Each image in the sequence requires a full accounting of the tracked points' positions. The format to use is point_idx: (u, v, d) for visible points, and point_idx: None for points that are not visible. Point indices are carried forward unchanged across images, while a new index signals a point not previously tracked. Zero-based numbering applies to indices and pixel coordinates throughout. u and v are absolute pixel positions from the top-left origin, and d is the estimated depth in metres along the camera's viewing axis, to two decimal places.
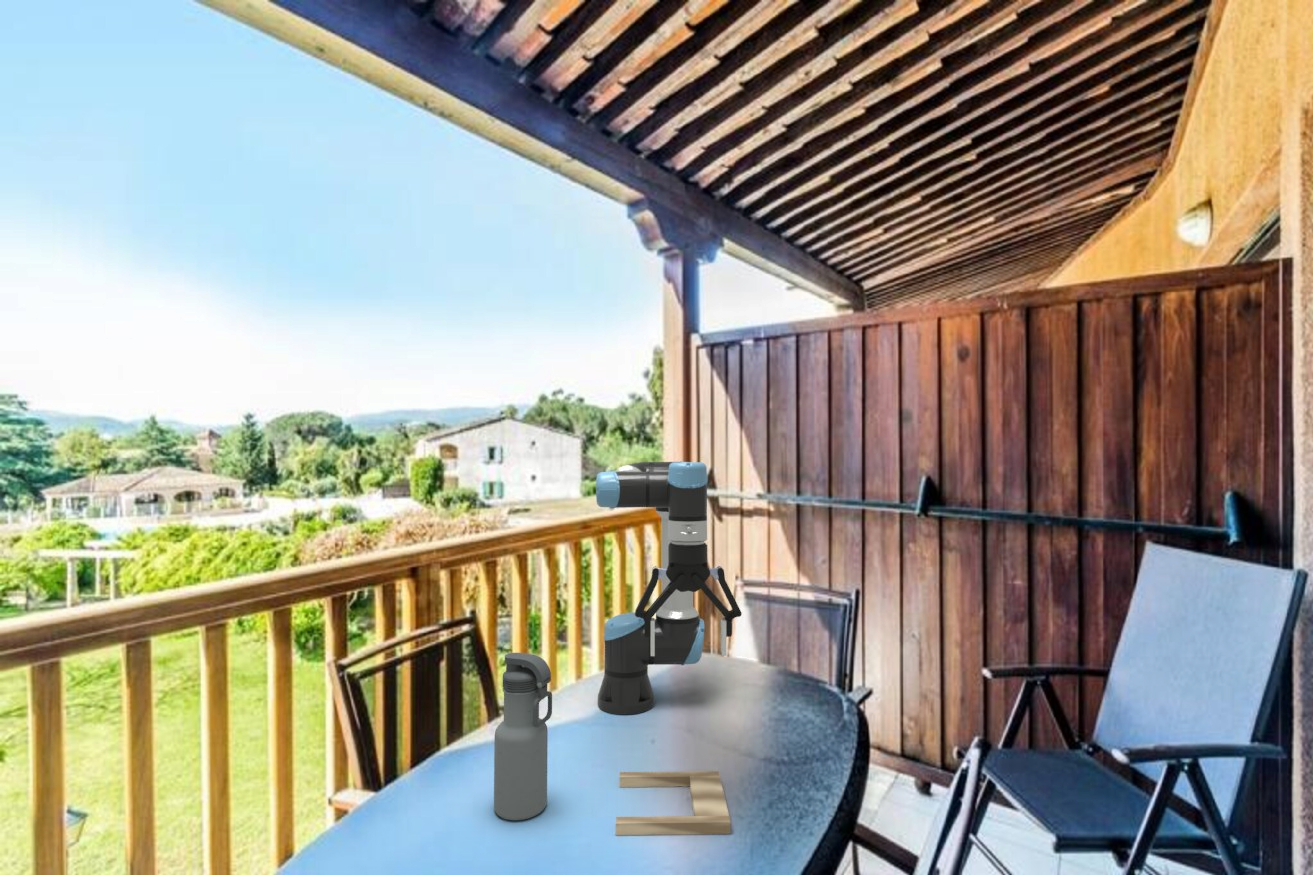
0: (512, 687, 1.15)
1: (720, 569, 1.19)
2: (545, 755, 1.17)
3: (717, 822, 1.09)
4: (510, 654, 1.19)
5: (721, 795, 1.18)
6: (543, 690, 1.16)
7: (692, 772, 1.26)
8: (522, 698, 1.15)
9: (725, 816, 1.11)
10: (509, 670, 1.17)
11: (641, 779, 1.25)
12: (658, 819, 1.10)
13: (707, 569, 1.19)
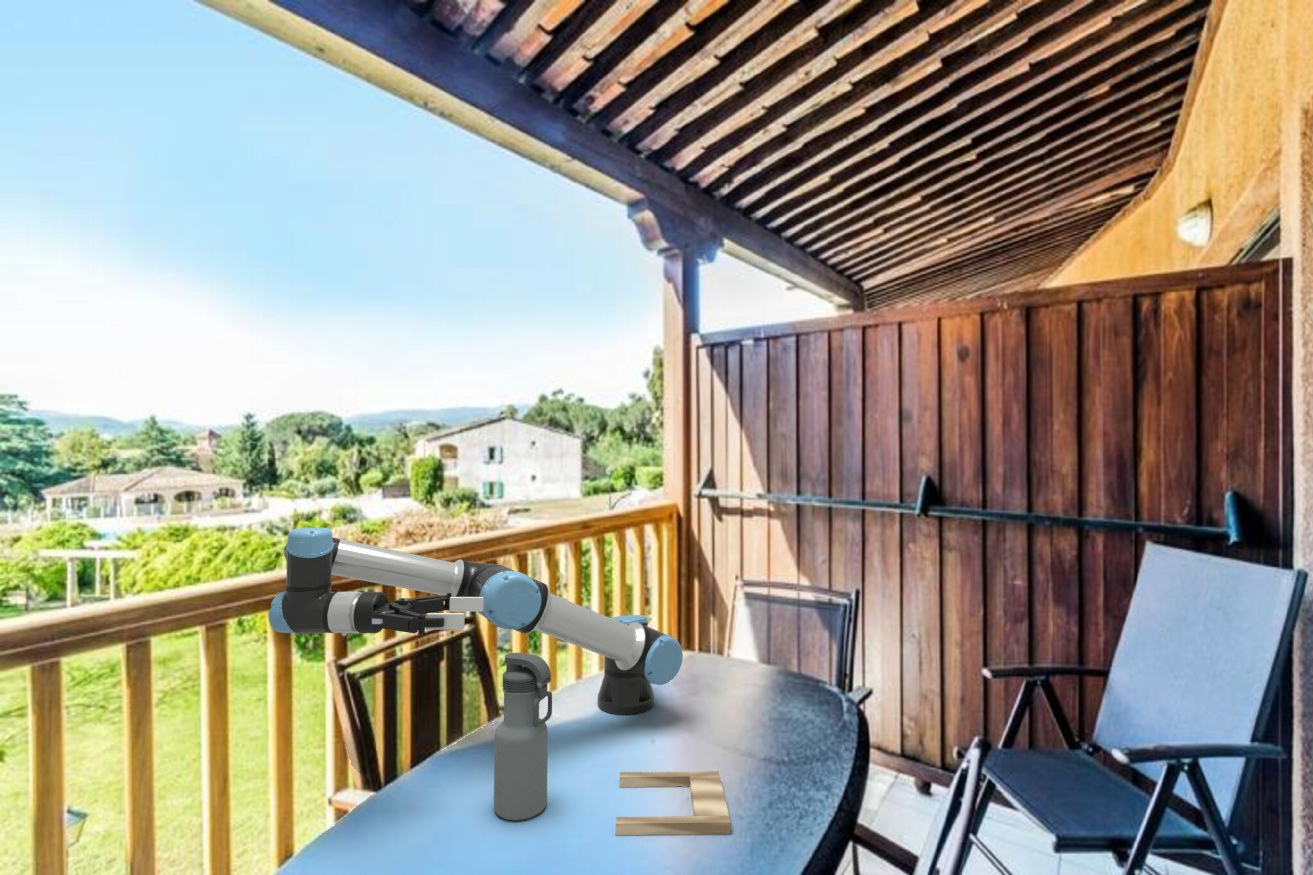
0: (512, 687, 1.15)
1: None
2: (546, 755, 1.17)
3: (717, 822, 1.09)
4: (510, 654, 1.19)
5: (721, 795, 1.18)
6: (543, 690, 1.16)
7: (692, 772, 1.26)
8: (522, 698, 1.15)
9: (725, 816, 1.11)
10: (509, 670, 1.17)
11: (641, 779, 1.25)
12: (658, 819, 1.10)
13: None
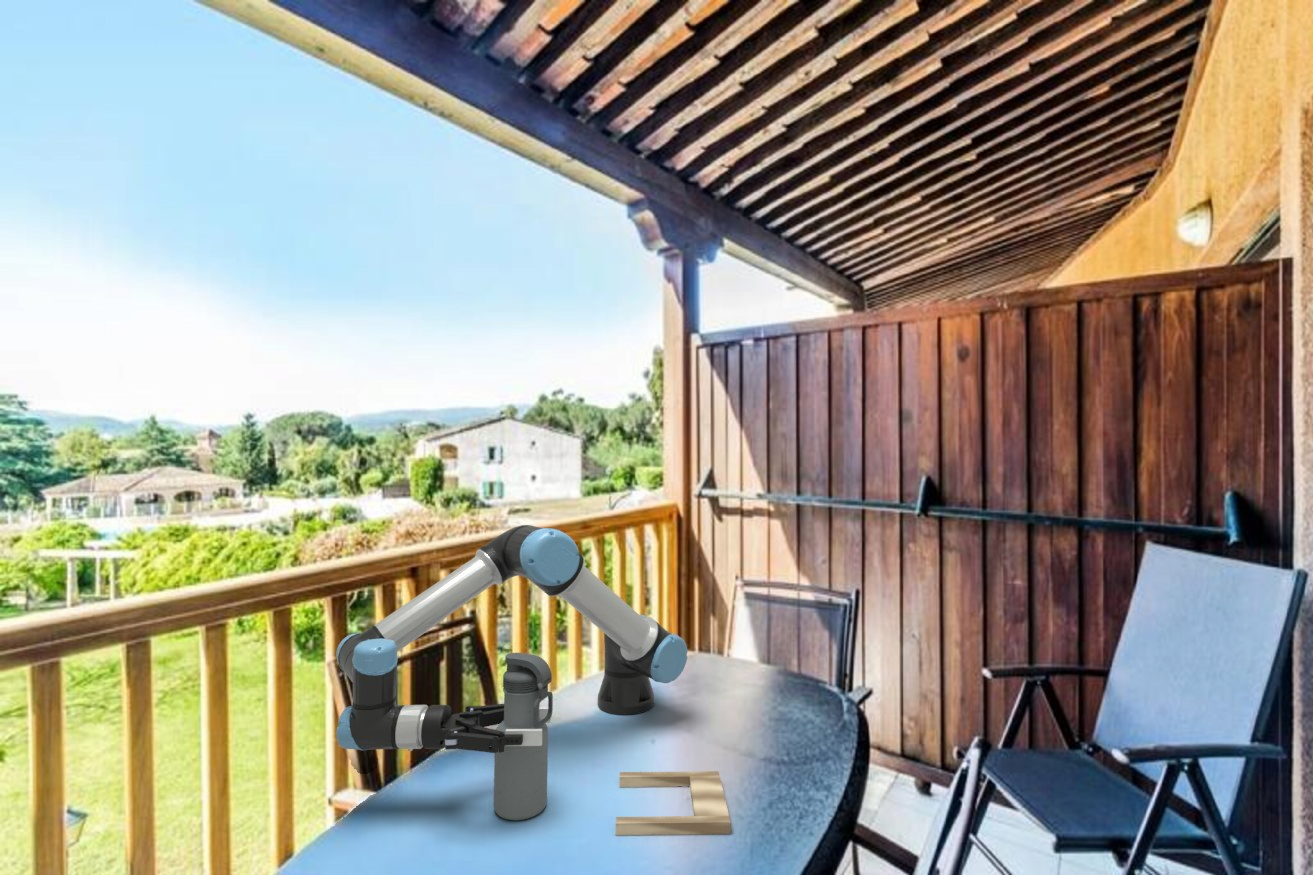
0: (512, 687, 1.14)
1: None
2: (546, 755, 1.17)
3: (717, 822, 1.09)
4: (511, 654, 1.19)
5: (721, 795, 1.18)
6: (544, 691, 1.16)
7: (692, 772, 1.26)
8: (522, 698, 1.15)
9: (725, 816, 1.11)
10: (510, 670, 1.17)
11: (641, 779, 1.25)
12: (658, 819, 1.10)
13: None
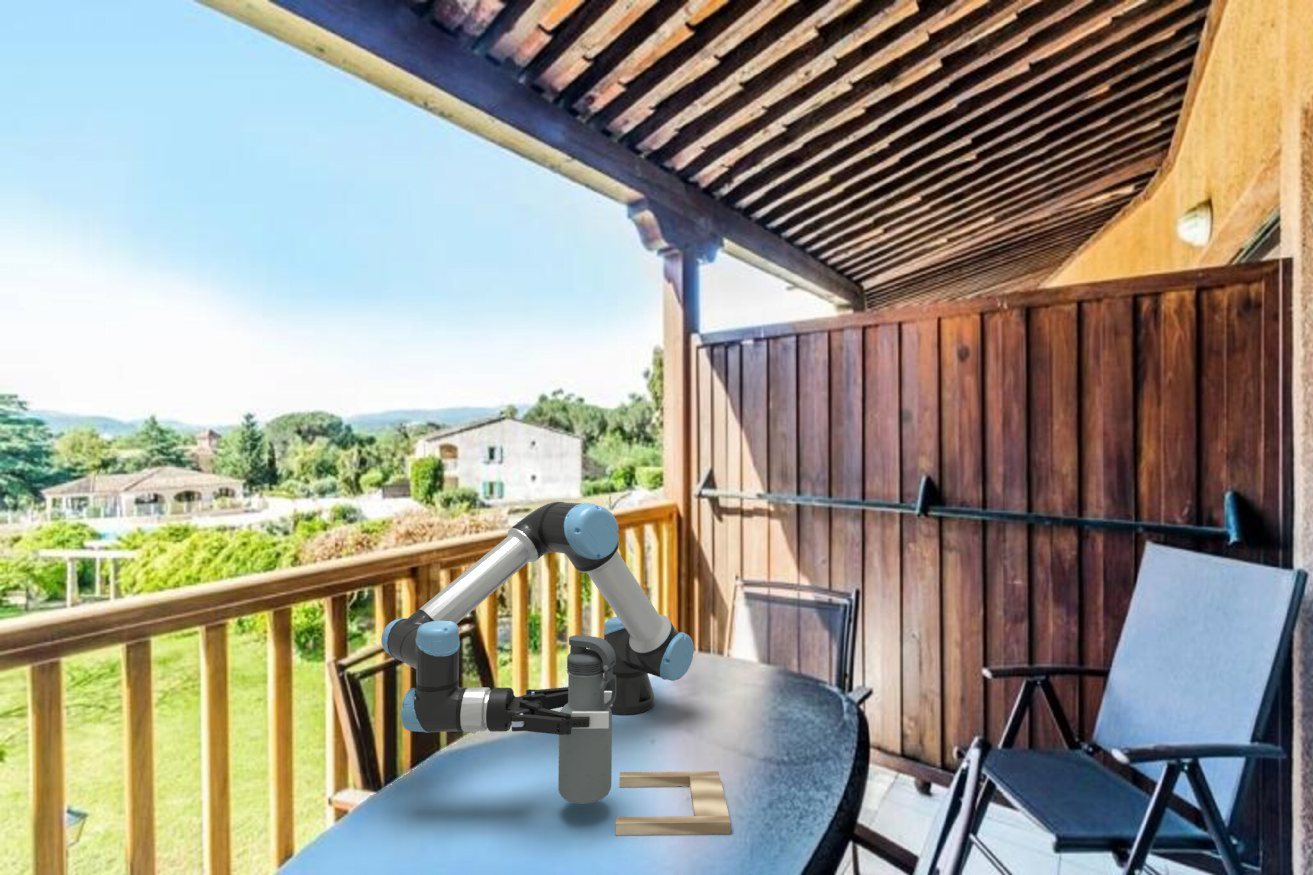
0: (578, 669, 1.13)
1: None
2: (610, 738, 1.15)
3: (717, 822, 1.09)
4: (574, 636, 1.18)
5: (721, 795, 1.18)
6: (609, 673, 1.14)
7: (692, 772, 1.26)
8: (588, 681, 1.13)
9: (725, 816, 1.11)
10: (574, 652, 1.16)
11: (641, 779, 1.25)
12: (658, 819, 1.10)
13: None
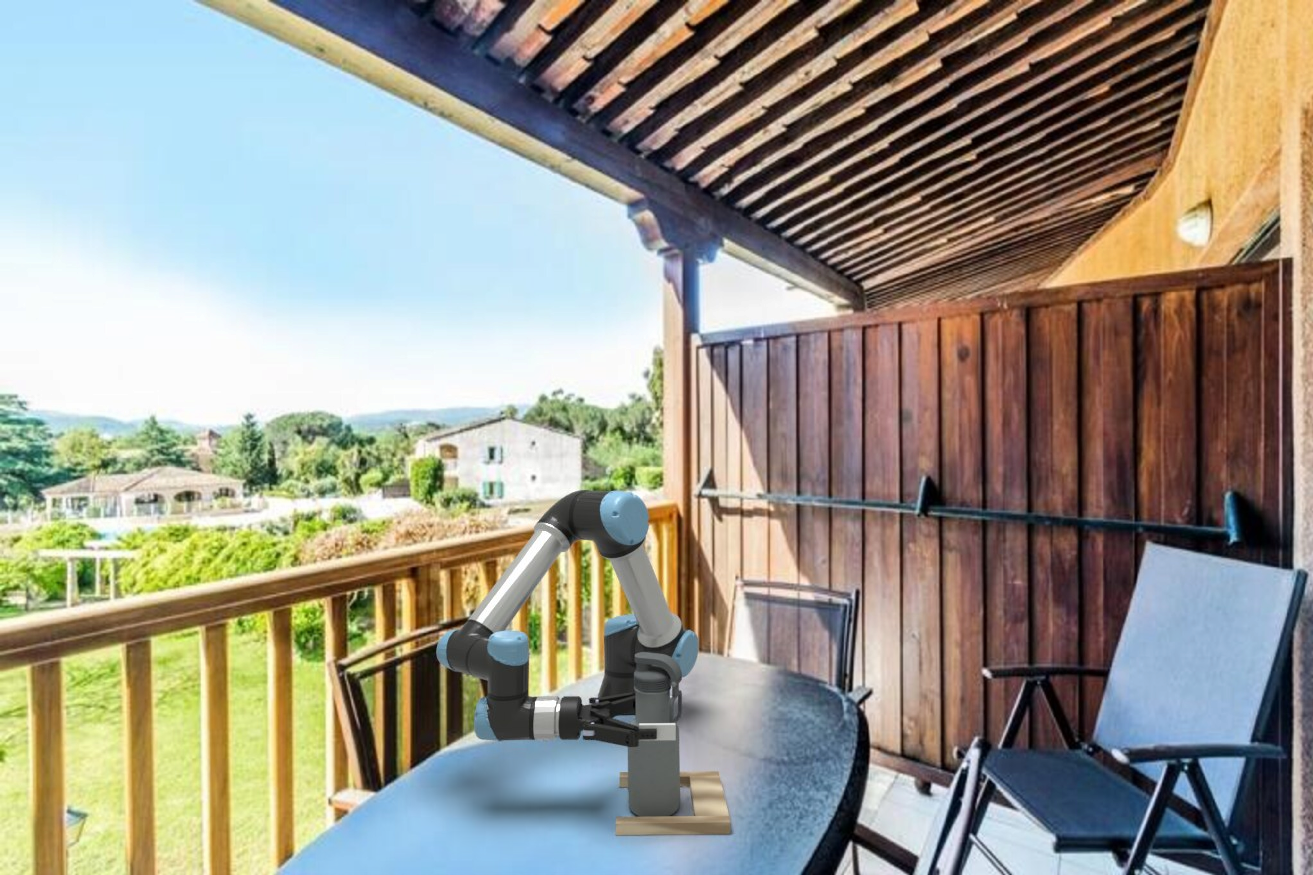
0: (647, 687, 1.15)
1: None
2: None
3: (717, 822, 1.09)
4: (639, 654, 1.19)
5: (721, 795, 1.18)
6: (676, 690, 1.16)
7: (692, 772, 1.26)
8: (657, 698, 1.15)
9: (725, 816, 1.11)
10: (640, 670, 1.17)
11: None
12: (658, 819, 1.10)
13: None
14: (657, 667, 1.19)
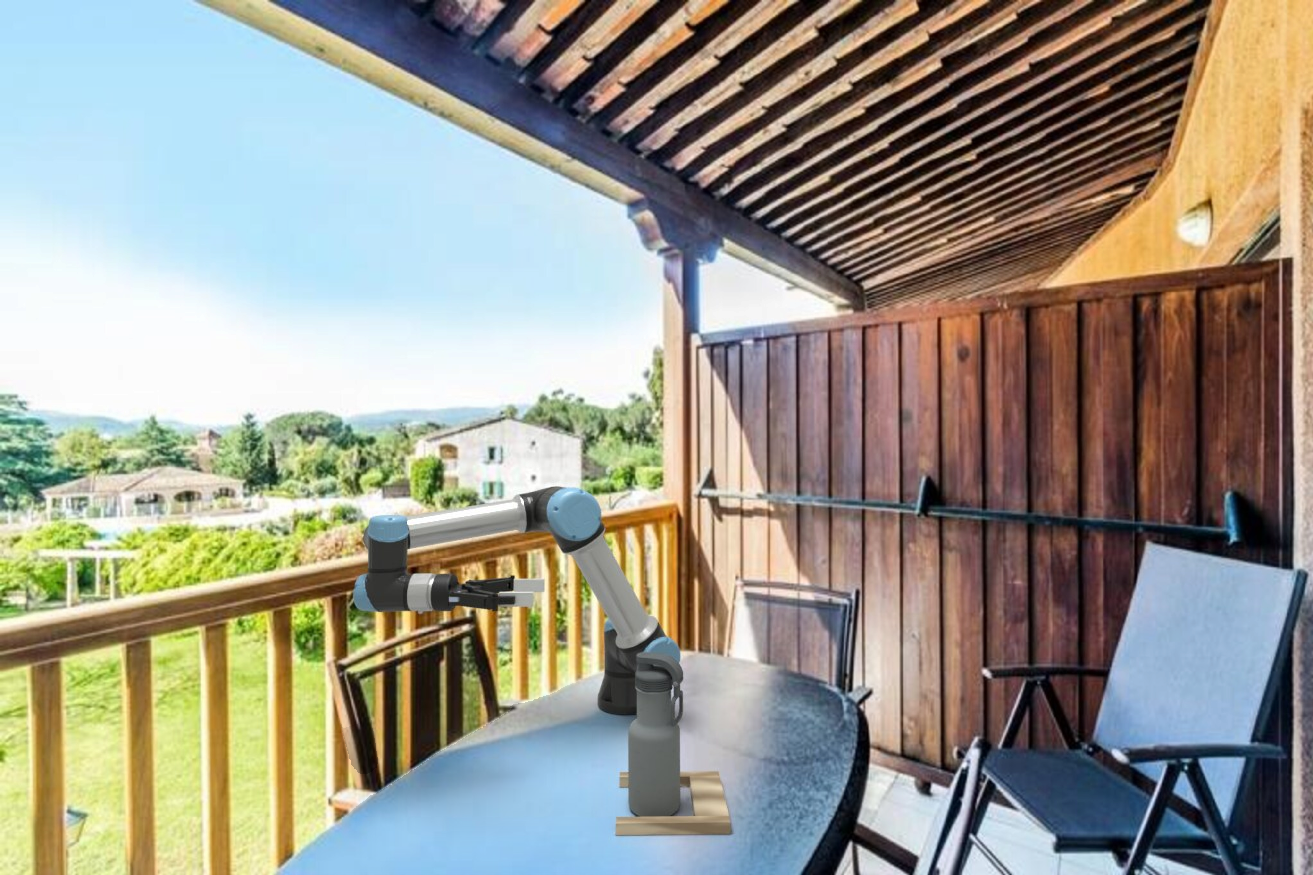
0: (648, 686, 1.15)
1: None
2: (679, 753, 1.17)
3: (717, 822, 1.09)
4: (641, 653, 1.20)
5: (721, 795, 1.18)
6: (678, 690, 1.17)
7: (692, 772, 1.26)
8: (658, 697, 1.15)
9: (725, 816, 1.11)
10: (642, 669, 1.18)
11: None
12: (658, 819, 1.10)
13: None
14: (659, 667, 1.19)
